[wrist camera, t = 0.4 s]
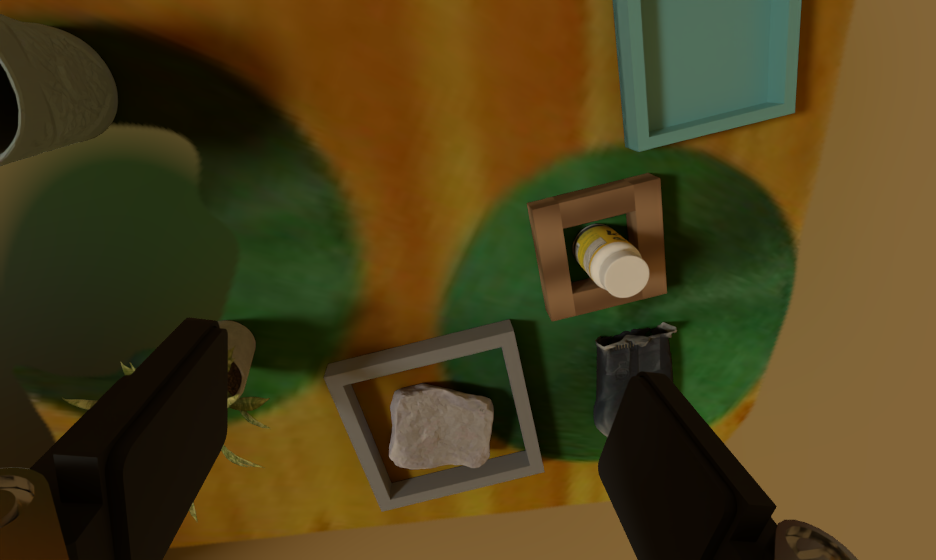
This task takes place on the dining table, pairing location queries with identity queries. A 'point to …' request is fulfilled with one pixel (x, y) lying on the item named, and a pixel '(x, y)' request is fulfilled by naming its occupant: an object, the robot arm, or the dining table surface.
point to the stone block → (439, 427)
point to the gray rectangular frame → (417, 356)
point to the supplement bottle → (610, 260)
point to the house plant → (238, 370)
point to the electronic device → (628, 367)
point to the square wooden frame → (587, 206)
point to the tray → (703, 66)
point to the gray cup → (50, 90)
